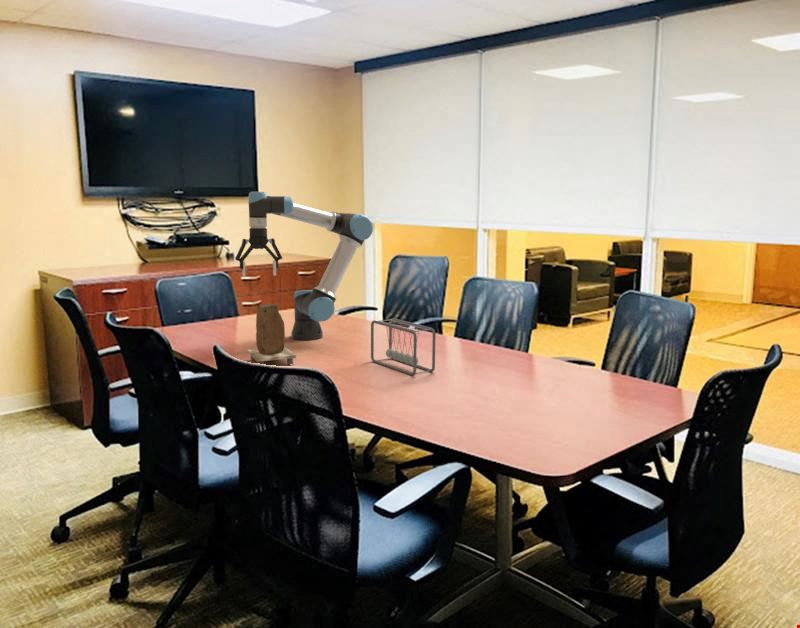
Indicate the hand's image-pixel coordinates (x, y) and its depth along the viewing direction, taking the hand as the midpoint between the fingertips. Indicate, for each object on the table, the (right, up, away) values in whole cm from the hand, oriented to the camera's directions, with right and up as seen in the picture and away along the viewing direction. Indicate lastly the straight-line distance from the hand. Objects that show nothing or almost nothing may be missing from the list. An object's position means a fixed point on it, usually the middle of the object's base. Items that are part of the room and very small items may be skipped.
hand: (259, 276), depth 302 cm
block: (+9, -33, -20) cm, 39 cm away
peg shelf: (+9, -37, -19) cm, 42 cm away
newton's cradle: (+63, -38, -25) cm, 78 cm away
